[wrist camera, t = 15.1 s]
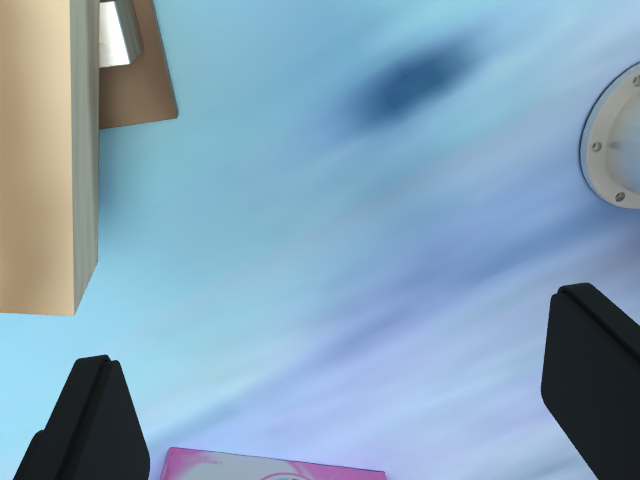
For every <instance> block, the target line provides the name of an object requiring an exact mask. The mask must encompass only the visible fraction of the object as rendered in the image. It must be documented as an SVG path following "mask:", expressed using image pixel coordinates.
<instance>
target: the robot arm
mask: <svg viewBox="0 0 640 480" xmlns="http://www.w3.org/2000/svg"><path fill="white" fill-rule="evenodd" d="M580 152H581V166H582V170H583V174H584V177H585V179H586V181H587V183H588V185H589V186H590V187H591V189H592V190H593V191H594V192H595V193H596V194H597V195H598V196H600V197H601V198H603V199H604V200H606V201H608V202H609V203H611V204H613V205H615V206H619V207H623V208H627V209H640V63H639V64H637V65H635V66H633V67H632V68H630V69H629V70H627V71H626V72H625V73H623V74H622V75H621V76H620V77H618V78H617V79H616V80H615V81H614V82H613V83H612V84H611V85H610V86H609V88H608V89H607V90H606V91H605V92H604V93H603V95H602V96H601V98H600V99H599V100H598V102H597V103H596V105H595V106H594V108H593V110H592V112H591V114H590V116H589V118H588V120H587V123H586V126H585V129H584V132H583V136H582V142H581V149H580ZM541 395H542V399H543V401H544V404H545V405H546V407H547V408H548V410H549V411H550V413H551V414H552V415H553V417H554V418H555V420H556V421H557V422H558V424H559V425H560V427H561V428H562V429H563V431H564V432H565V434H566V435H567V436H568V438H569V439H570V441H571V442H572V443H573V445H574V446H575V448H576V449H577V450H578V452H579V453H580V455H581V456H582V457H583V459H584V460H585V462H586V463H587V464H588V466H589V467H590V469H591V470H592V471H593V473H594V474H595V476H596V477H597V478H598V480H640V326H639V325H638V324H637V323H636V322H635V321H633V320H632V319H631V318H630V317H629V316H628V315H627V314H625V313H624V312H623V311H622V310H621V309H620V308H618V307H617V306H616V305H615V304H614V303H613V302H611V301H610V300H609V299H608V298H607V297H606V296H605V295H603V294H602V293H601V292H600V291H599V290H598V289H596V288H595V287H594V286H593V285H592V284H590V283H579V284H573V285H566V286H562V287H560V288H559V290H558V292H557V294H554V295H552V297H551V302H550V310H549V319H548V328H547V337H546V346H545V355H544V364H543V373H542V382H541ZM149 472H150V457H149V452H148V449H147V446H146V443H145V440H144V437H143V433H142V430H141V427H140V424H139V421H138V418H137V415H136V412H135V409H134V405H133V402H132V399H131V396H130V393H129V390H128V387H127V384H126V381H125V377H124V374H123V371H122V368H121V365H120V363H119V361H117V360H114V361H111V360H110V358H109V357H108V355H100V356H93V357H86V358H80V359H77V360H76V362H75V363H74V365H73V368H72V370H71V372H70V374H69V376H68V379H67V381H66V383H65V385H64V387H63V390H62V392H61V394H60V396H59V398H58V401H57V403H56V405H55V407H54V409H53V412H52V414H51V416H50V418H49V420H48V423H47V425H46V427H45V429H44V430H40V431H39V432H37V433H36V434H35V435H34V437H33V439H32V440H31V442H30V444H29V447H28V449H27V451H26V453H25V455H24V457H23V459H22V461H21V463H20V466H19V468H18V470H17V472H16V474H15V476H14V478H13V480H148V477H149Z"/></svg>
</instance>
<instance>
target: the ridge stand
mask: <svg viewBox="0 0 640 480" xmlns="http://www.w3.org/2000/svg"><path fill="white" fill-rule="evenodd" d="M177 116H178V110H177V106H176V101H175V97H174V92H173V88H172V83H171V79H170V74H169V70H168V66H167V61H166V57H165V52H164V48H163V43H162V39H161V34H160V30H159V25H158V21H157V17H156V12H155V8H154V3H153V0H100V11H99V129H105V128H112V127H119V126H126V125H133V124H140V123H147V122H154V121H161V120H168V119H175V118H177Z"/></svg>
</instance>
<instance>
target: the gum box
mask: <svg viewBox="0 0 640 480" xmlns="http://www.w3.org/2000/svg"><path fill="white" fill-rule="evenodd" d="M160 480H387V479H386V476H385V473H384V472H375V471H366V470H359V469H353V468H346V467H337V466H325V465H318V464H312V463H304V462H297V461H294V462H292V461H283V460H276V459H271V458H262V457H254V456H241V455H233V454H228V453H219V452H211V451H199V450H190V449H182V448H170V449H169V450H168V454H167V457H166V460H165V464H164V467H163V470H162V474H161V477H160Z"/></svg>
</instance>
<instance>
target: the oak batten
mask: <svg viewBox="0 0 640 480" xmlns="http://www.w3.org/2000/svg"><path fill="white" fill-rule="evenodd" d="M99 11H100V0H0V313H19V314H39V315H59V316H74V315H75V313H76V311H77V308H78V306H79V304H80V301H81V299H82V297H83V295H84V292H85V290H86V288H87V285H88V283H89V281H90V278H91V276H92V274H93V272H94V269H95V267H96V265H97V262H98V164H99Z"/></svg>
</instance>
